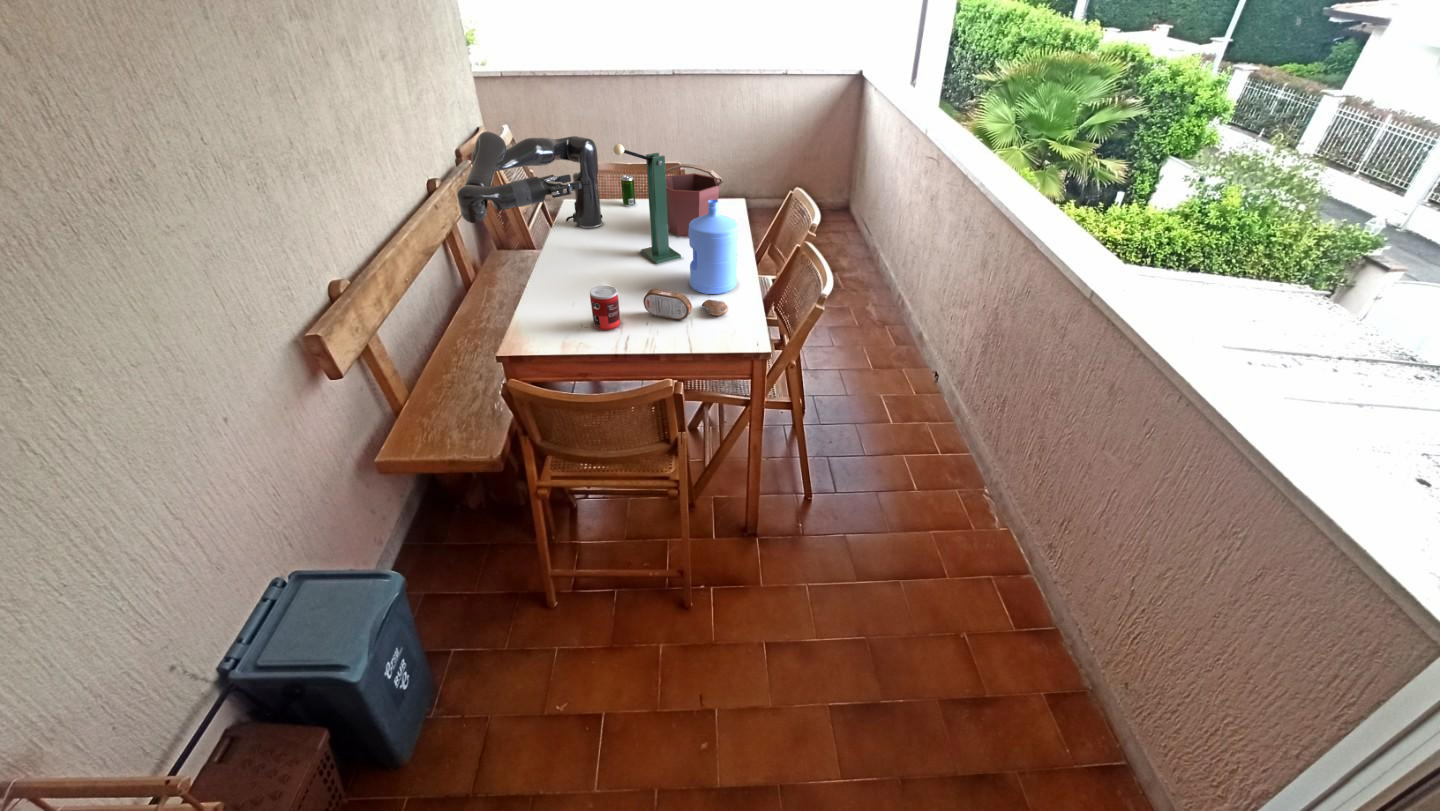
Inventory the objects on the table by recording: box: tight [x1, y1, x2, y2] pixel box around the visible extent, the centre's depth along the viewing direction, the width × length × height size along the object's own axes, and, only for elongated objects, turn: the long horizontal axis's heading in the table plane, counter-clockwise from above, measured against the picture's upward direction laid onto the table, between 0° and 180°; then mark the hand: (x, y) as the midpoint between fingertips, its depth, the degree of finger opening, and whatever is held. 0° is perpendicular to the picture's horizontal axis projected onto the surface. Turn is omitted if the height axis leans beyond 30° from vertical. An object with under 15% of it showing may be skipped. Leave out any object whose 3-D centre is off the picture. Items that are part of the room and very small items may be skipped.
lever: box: [613, 143, 655, 164], centre depth 208 cm, size 17×3×3 cm, turn 123°
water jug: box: [688, 199, 739, 295], centre depth 206 cm, size 16×16×28 cm
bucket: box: [665, 163, 724, 238], centre depth 246 cm, size 24×22×25 cm
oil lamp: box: [701, 299, 729, 317], centre depth 198 cm, size 9×4×8 cm
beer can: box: [620, 174, 636, 208], centre depth 273 cm, size 5×5×12 cm
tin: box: [642, 288, 693, 321], centre depth 193 cm, size 15×3×8 cm, turn 71°
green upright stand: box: [640, 152, 682, 265], centre depth 222 cm, size 10×12×35 cm
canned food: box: [589, 285, 621, 331], centre depth 189 cm, size 8×8×11 cm
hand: (575, 181), depth 201 cm, fingers open, 8 cm apart
